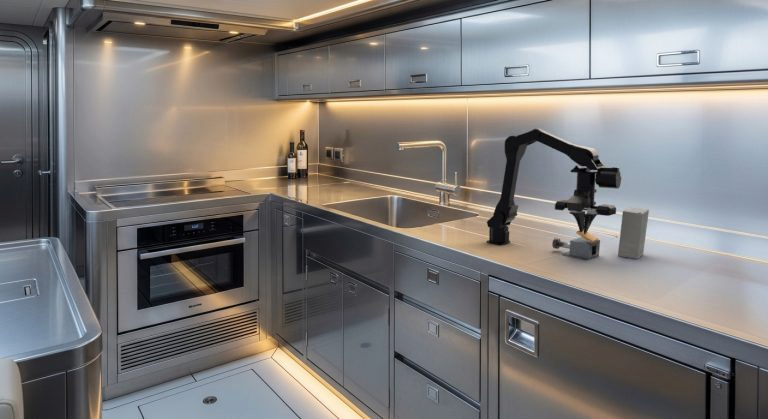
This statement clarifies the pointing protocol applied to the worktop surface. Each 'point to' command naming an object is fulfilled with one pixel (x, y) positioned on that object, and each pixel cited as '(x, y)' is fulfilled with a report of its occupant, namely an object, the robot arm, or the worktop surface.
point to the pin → (560, 244)
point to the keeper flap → (587, 236)
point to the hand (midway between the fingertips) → (583, 233)
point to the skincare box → (633, 232)
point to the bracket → (583, 249)
